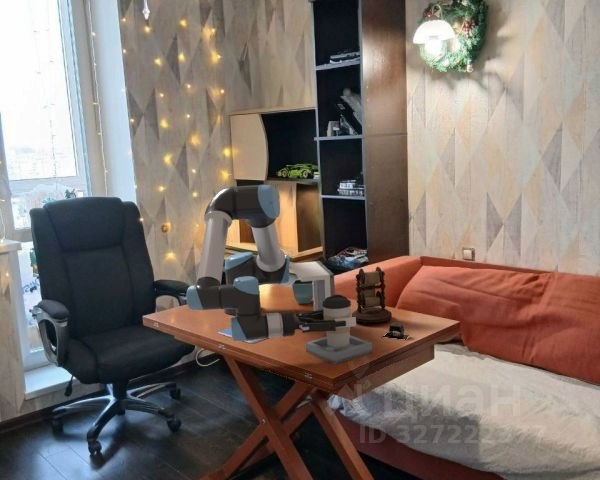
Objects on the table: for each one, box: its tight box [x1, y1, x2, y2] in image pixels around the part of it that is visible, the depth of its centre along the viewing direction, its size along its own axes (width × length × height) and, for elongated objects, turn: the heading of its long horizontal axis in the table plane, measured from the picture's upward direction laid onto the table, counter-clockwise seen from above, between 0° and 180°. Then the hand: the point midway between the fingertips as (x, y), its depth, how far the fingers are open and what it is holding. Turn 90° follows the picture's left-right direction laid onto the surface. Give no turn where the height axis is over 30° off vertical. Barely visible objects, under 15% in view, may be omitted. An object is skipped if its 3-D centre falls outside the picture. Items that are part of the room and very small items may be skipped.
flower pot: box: [291, 279, 313, 305], centre depth 247 cm, size 9×9×9 cm
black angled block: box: [382, 322, 410, 341], centre depth 198 cm, size 12×7×5 cm, turn 60°
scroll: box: [351, 266, 393, 326], centre depth 216 cm, size 15×15×20 cm
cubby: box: [289, 260, 336, 311], centre depth 208 cm, size 24×11×22 cm, turn 10°
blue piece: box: [217, 327, 268, 344], centre depth 210 cm, size 19×13×1 cm, turn 45°
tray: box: [305, 334, 373, 365], centre depth 186 cm, size 15×15×3 cm
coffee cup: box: [322, 294, 352, 347], centre depth 184 cm, size 9×9×15 cm
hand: (351, 317), depth 185 cm, fingers closed on coffee cup, 8 cm apart
